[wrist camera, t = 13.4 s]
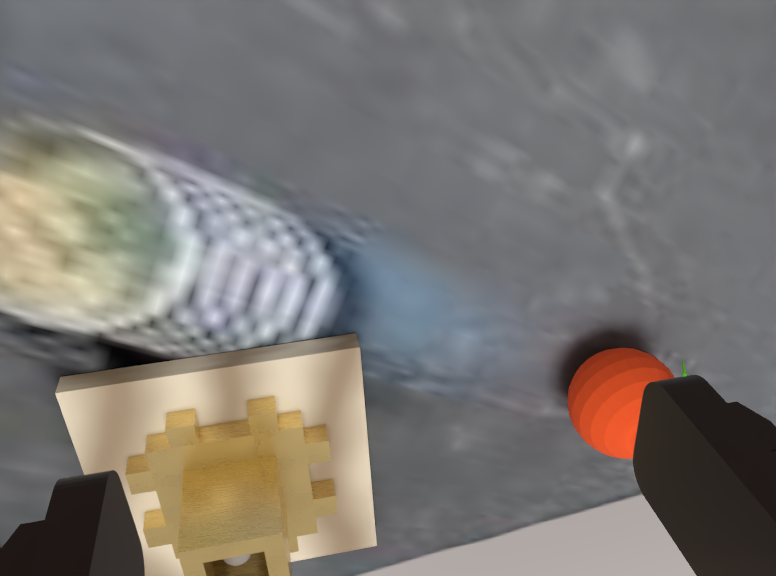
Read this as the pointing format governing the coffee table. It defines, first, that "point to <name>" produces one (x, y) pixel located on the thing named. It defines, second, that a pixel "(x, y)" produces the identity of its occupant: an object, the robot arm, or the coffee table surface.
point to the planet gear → (234, 489)
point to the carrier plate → (226, 404)
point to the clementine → (612, 397)
